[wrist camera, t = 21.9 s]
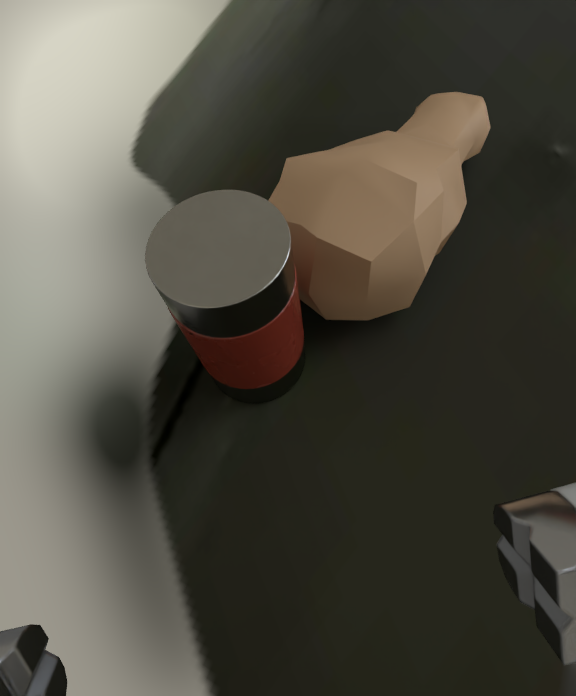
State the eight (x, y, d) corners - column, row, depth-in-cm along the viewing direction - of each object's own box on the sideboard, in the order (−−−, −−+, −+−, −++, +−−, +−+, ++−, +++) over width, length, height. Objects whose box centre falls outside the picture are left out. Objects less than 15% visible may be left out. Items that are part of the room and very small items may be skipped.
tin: (321, 334, 28) (316, 210, 19) (279, 420, 26) (248, 331, 16) (237, 303, 30) (191, 173, 20) (191, 381, 28) (114, 278, 18)
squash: (242, 307, 30) (200, 188, 23) (384, 153, 39) (385, 33, 32) (389, 372, 25) (393, 246, 18) (515, 179, 34) (550, 43, 27)
